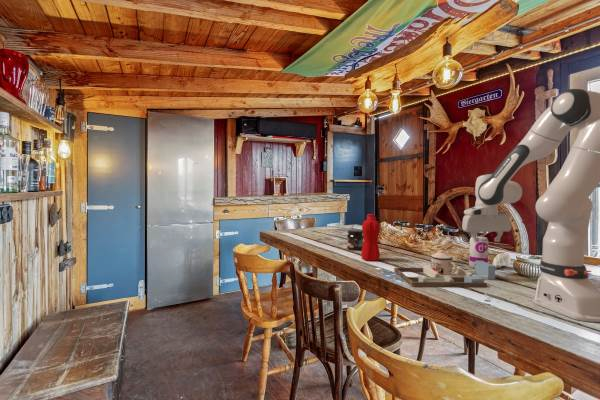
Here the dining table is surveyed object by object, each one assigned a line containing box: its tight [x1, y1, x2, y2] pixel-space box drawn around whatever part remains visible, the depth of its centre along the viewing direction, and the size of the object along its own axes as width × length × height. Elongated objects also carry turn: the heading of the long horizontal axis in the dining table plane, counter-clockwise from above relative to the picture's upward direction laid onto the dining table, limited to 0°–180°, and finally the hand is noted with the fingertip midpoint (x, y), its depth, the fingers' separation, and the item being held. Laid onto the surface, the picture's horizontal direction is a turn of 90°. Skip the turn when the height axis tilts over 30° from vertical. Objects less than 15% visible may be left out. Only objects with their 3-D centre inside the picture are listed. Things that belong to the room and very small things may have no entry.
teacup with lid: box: [430, 249, 457, 276], centre depth 141 cm, size 12×9×12 cm
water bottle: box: [360, 213, 383, 262], centre depth 173 cm, size 9×11×25 cm
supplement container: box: [346, 229, 364, 252], centre depth 203 cm, size 10×10×12 cm
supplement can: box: [468, 235, 490, 269], centre depth 159 cm, size 8×8×15 cm
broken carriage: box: [417, 274, 485, 282], centre depth 131 cm, size 6×25×3 cm, turn 90°
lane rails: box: [393, 267, 488, 288], centre depth 139 cm, size 24×30×2 cm
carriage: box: [422, 261, 496, 281], centre depth 142 cm, size 14×27×6 cm, turn 90°
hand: (486, 241), depth 141 cm, fingers open, 8 cm apart
